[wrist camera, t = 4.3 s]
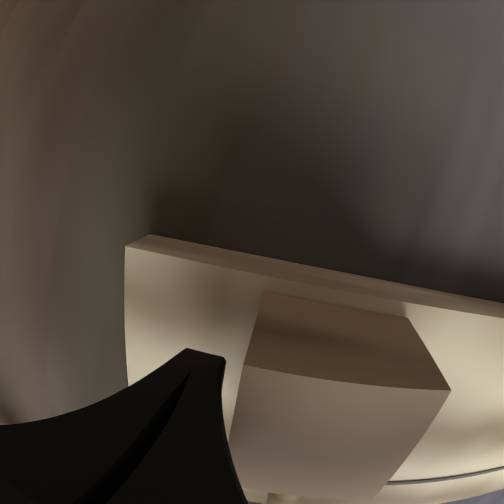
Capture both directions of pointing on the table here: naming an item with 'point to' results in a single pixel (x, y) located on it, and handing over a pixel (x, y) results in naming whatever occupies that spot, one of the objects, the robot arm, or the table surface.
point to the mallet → (330, 400)
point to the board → (340, 294)
